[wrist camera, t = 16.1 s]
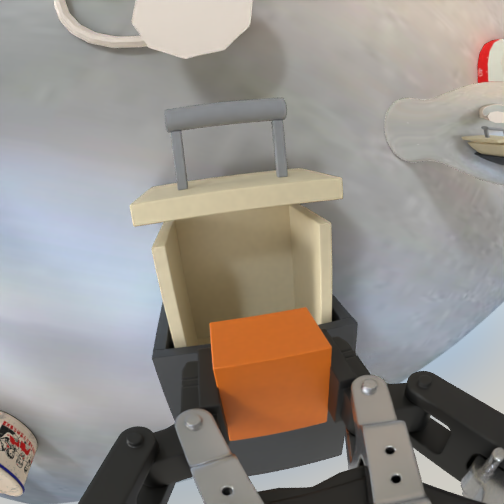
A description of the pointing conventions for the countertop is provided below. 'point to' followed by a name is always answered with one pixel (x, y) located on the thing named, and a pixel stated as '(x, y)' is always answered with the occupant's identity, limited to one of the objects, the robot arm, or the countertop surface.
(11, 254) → the countertop surface
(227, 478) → the robot arm
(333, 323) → the dark grey cabinet box
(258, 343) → the orange matte cube
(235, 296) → the drawer
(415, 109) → the chrome metal cylinder
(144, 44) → the hand towel holder
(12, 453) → the teacup with lid
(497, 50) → the kitchen timer
